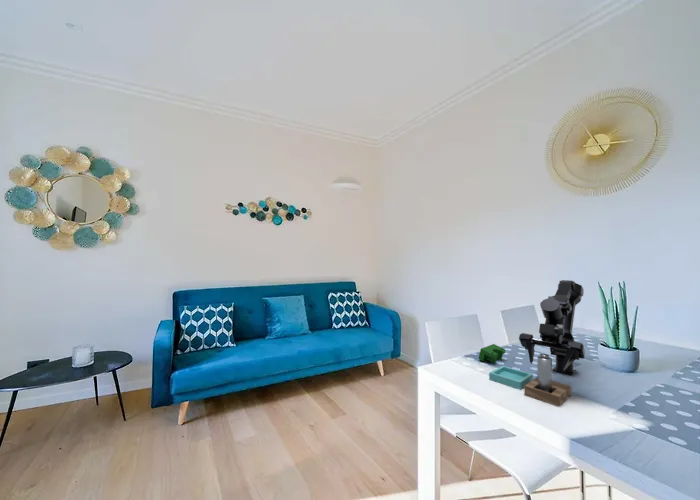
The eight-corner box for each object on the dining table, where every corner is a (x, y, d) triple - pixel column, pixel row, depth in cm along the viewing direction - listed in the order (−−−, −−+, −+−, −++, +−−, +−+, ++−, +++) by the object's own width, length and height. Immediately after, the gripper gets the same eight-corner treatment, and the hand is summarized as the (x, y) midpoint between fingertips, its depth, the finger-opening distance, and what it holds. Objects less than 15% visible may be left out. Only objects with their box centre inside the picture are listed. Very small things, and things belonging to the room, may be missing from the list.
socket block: (538, 384, 108) (538, 376, 108) (571, 394, 100) (571, 385, 100) (524, 394, 101) (524, 385, 101) (559, 406, 93) (559, 396, 93)
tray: (502, 371, 120) (502, 365, 120) (532, 380, 111) (532, 374, 111) (489, 379, 113) (489, 372, 113) (520, 389, 105) (520, 382, 105)
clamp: (491, 373, 129) (491, 357, 126) (478, 366, 134) (478, 350, 130) (506, 358, 135) (506, 342, 131) (493, 351, 140) (493, 336, 136)
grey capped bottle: (540, 393, 102) (540, 352, 102) (554, 397, 99) (553, 355, 99) (536, 396, 99) (535, 354, 99) (549, 401, 96) (549, 357, 96)
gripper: (520, 311, 111) (510, 347, 103) (583, 318, 98) (577, 361, 90) (526, 328, 117) (518, 364, 109) (587, 338, 103) (582, 379, 95)
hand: (546, 366), depth 101 cm, fingers open, 9 cm apart
